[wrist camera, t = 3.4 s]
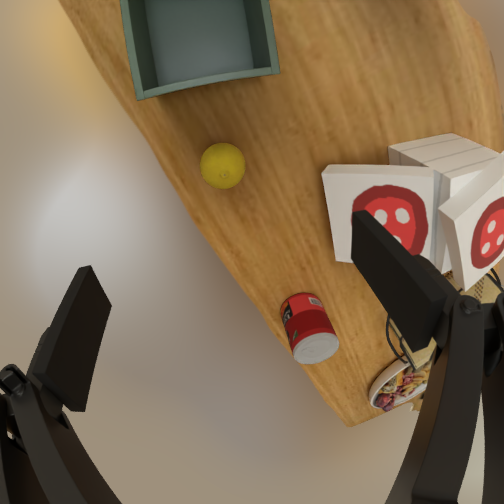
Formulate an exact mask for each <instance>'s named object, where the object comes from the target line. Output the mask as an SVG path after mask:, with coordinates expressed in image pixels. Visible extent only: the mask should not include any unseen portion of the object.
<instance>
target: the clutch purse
mask: <svg viewBox="0 0 504 504" xmlns="http://www.w3.org/2000/svg"><path fill="white" fill-rule="evenodd" d="M490 270H491V271H492V273H493V274H494V276H495V278H496V280H497V281H496V280H495V279H494V278H493V277H492V276H491V275H490V274H488V273H486V274H485V275H484V276H483V277H482V278H481V279H479V280H478V281H477V282H476V283H475V284H474V285H473V286H472V287H470V288H469V289H468V290H467V291H466V292H465V291H464V290H463V289H462V288H461V287H460V285H459V284H458V283H457V282H456V281H455V280H454V278H453V272H452V273H450V274H449V275H448V276H447V277H446V279H447V280H448V281H449V282H450V283H451V284H452V285H453V286H454V288H455V289H456V290H457V291H458V292H459V293H460V294H461V295H470V296H472V297H475V298H476V299H477V300H479V301H480V303H481V304H482V303H494V302H495V300H496V298H497V296H498V294H500V293H501V292H504V289H503V288H502V287H501V286H502V285H501V282H500V280H499V277H498V275H497V274H496V272H495V271H494V269H493V268H491V269H490ZM389 325H390V327H391V328H392V330H393V332H394V333H395V335H396V337H397V338H398V340H399V342H400V347H401V349H402V351H403V353H404V354H405V356H406V358H407V360H408V361H405V360H403V359H402V358H401V357H400V356H399V354H398V353H397V352H396V350H395V348H394V347H393V345H392V343H391V341H390V338H389V331H388V327H389ZM386 337H387V341H388V343H389V345H390V347H391V349H392V350H393V352H394V354H395V355H396V356H397V357H398V359H399V360H401V361H402V362H403V363H404V364H407V363H408V362H409V363H408V366H409V365H411V367H412V368H413V370H416V369H417V368H419V367H420V366H421V365H423V364H424V363H426V362H427V361H429V359H430V356H431V354H432V352H433V350H434V348H435V346H436V344H437V343H436V342H435V340H434V339H433V337H432V338H431V341H430V343H429V345H428V347H426V348H424V349H422V350H419V351H417V352H414V353H412V351H411V350H410V348H409V346H408V345H407V343H406V342H405V340H404V338H403V337H402V335H401V333H400V332H399V330H398V329H397V327H396V325H395V324H394V322H393V321H392V319H390V316H389V314H388V317H387V322H386ZM405 366H406V365H405Z"/></svg>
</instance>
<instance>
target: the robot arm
mask: <svg viewBox="0 0 504 504" xmlns="http://www.w3.org/2000/svg"><path fill="white" fill-rule="evenodd" d="M351 260H352V261H353V263H354V264H355V265H356V267H357V268H358V270H359V271H360V273H361V274H362V276H363V277H364V278H365V280H366V281H367V283H368V284H369V286H370V287H371V289H372V290H373V292H374V293H375V295H376V296H377V298H378V299H379V301H380V302H381V304H382V305H383V307H384V308H385V310H386V311H387V313H388V314H389V316H390V318H391V319H392V321H393V322H394V324H395V325H396V327H397V329H398V330H399V332H400V333H401V335H402V337H403V338H404V340H405V342H406V343H407V345H408V346H409V348H410V350H411V351H412V353H414V352H417V351H419V350H422V349H424V348H426V347H428V345H429V343H430V341H431V338H432V337H433V339H434V340H435V342H436V343H437V344H436V346H435V348H434V350H433V352H432V354H431V356H430V359H429V360H430V361H431V360H432V364H431V368H430V373H429V378H428V382H427V386H426V390H425V394H424V398H423V402H422V406H421V409H420V413H419V416H418V420H417V423H416V426H415V429H414V433H413V436H412V439H411V442H410V444H409V447H408V450H407V453H406V455H405V458H404V461H403V463H402V466H401V468H400V471H399V473H398V476H397V478H396V480H395V482H394V485H393V487H392V490H391V491H390V494H389V496H388V498H387V500H386V503H385V504H458V502H457V498H458V494H459V491H460V488H461V485H462V481H463V478H464V475H465V471H466V467H467V464H468V460H469V456H470V452H471V447H472V443H473V438H474V433H475V428H476V422H477V417H478V409H479V402H480V395H481V393H482V403H483V415H484V435H485V465H484V486H483V496H482V504H504V292H501V293H500V294H498V296H497V298H496V300H495V302H494V303H482V304H481V303H480V301H479V300H477V299H476V298H475V297H472V296H470V295H461V294H460V293H459V292H458V291H457V290H456V289H455V288H454V286H453V285H452V284H451V283H450V282H449V281H448V280H447V279H446V278H445V277H444V275H443V274H442V275H441V272H440V271H439V270H438V269H437V268H436V267H435V266H434V265H433V264H432V263H431V262H430V261H429V260H428V259H427V258H425V257H423V256H421V255H419V254H417V255H413V256H412V255H411V254H410V253H409V252H408V251H407V250H406V249H405V247H404V246H403V245H402V244H401V243H400V242H399V241H398V240H397V239H396V238H395V237H394V236H393V235H392V234H391V233H390V232H389V231H388V230H387V229H386V228H385V227H384V226H383V225H382V224H381V223H380V222H379V221H378V220H376V219H375V218H374V217H373V216H372V215H371V214H370V213H369V212H368V211H367V210H360V211H355V212H352V240H351ZM111 307H112V305H111V303H110V301H109V299H108V298H107V296H106V294H105V292H104V290H103V288H102V287H101V285H100V283H99V281H98V279H97V277H96V275H95V273H94V271H93V269H92V267H91V265H89V266H85V267H81V268H79V269H78V270H77V272H76V274H75V276H74V278H73V280H72V282H71V284H70V286H69V288H68V290H67V292H66V294H65V296H64V298H63V300H62V302H61V304H60V306H59V308H58V310H57V312H56V314H55V317H54V319H53V321H52V323H51V325H50V327H48V328H47V329H46V331H45V332H44V333H43V335H42V336H41V338H40V341H39V343H38V346H37V348H36V351H35V353H34V355H33V358H32V360H31V363H30V366H29V368H28V371H27V374H26V376H25V375H24V373H23V372H22V371H21V370H20V369H19V368H18V367H17V366H16V365H14V364H9V365H7V366H5V367H4V368H3V369H2V370H1V372H0V388H1V389H2V390H3V391H4V392H5V393H6V394H3V395H2V394H1V393H0V504H122V503H121V502H120V501H119V499H118V498H117V497H116V495H115V494H114V493H113V491H112V490H111V489H110V487H109V486H108V484H107V483H106V481H105V480H104V479H103V477H102V476H101V474H100V473H99V471H98V470H97V468H96V466H95V465H94V463H93V462H92V460H91V459H90V457H89V455H88V454H87V452H86V450H85V449H84V447H83V445H82V444H81V442H80V440H79V438H78V436H77V435H76V433H75V431H74V429H73V427H72V425H71V424H70V421H69V420H68V418H67V416H66V414H65V413H64V412H63V411H62V407H63V404H64V405H65V406H66V407H67V408H68V409H69V410H70V411H75V412H85V409H86V404H87V399H88V394H89V389H90V385H91V381H92V376H93V372H94V368H95V363H96V360H97V356H98V352H99V348H100V345H101V341H102V337H103V333H104V330H105V327H106V323H107V320H108V317H109V314H110V310H111ZM432 358H433V359H432ZM7 431H9V432H10V433H11V434H12V439H10V438H9V437H8V435H7Z"/></svg>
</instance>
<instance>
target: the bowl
mask: <svg viewBox="0 0 504 504" xmlns="http://www.w3.org/2000/svg"><path fill="white" fill-rule="evenodd" d="M401 358H402V359H403V360H405V361H408V360H407V358H406V356H405V355H404V356H403V357H401ZM432 359H433V358H432ZM408 363H409V362H408ZM408 363H407V364H404V363H403V362H402V361H401V360H399V359H398V360H397V361H395V362H394V363H392V364H391V365H390V366H389V367H388V368H386V369H385V370H384V371H383V372H382V373H381V374H380V375H379V376H378V377H377V379H376V380H375V381H374V383H373V385H372V387H371V389H370V392H369V401H370V403H371V405H372V406H373V407H374V408H382V409H383V410H384V411H390V410H391V409H392V408H393V406H395V405H398V404H400V403H403V402H405V401H407V400H409V399H411V398H413V397H414V396H416V395H418V394H419V393H421V392H422V391H424V390H425V389H426V386H427V382H428V378H429V373H430V368H431V364H432V360H431V361H430V360H429V361H427V362H426V363H424V364H423V365H421V366H420V367H419V368H417V369H416V370H413V368H412V367H411V365H409V366H408ZM405 365H406V366H405Z"/></svg>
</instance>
